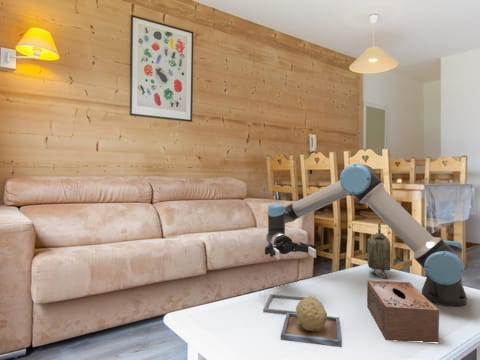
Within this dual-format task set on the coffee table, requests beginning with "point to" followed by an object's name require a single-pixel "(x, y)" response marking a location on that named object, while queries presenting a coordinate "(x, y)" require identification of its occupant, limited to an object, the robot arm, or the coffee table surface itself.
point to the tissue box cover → (402, 311)
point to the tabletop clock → (379, 252)
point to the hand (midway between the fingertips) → (297, 254)
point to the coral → (311, 314)
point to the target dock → (325, 336)
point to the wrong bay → (282, 298)
